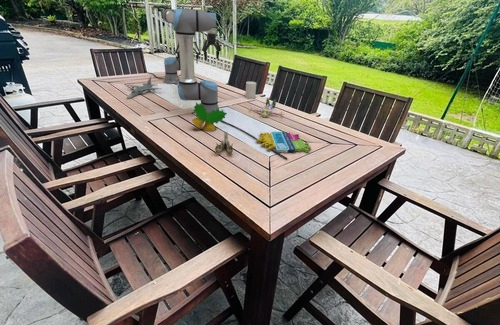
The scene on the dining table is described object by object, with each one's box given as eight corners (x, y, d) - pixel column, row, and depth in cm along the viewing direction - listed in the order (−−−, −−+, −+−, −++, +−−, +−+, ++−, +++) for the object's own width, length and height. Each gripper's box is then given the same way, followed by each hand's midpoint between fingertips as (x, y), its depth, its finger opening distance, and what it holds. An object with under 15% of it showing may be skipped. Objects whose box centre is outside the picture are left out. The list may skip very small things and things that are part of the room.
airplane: (121, 88, 233) (119, 76, 228) (157, 85, 246) (156, 75, 241) (125, 101, 205) (123, 88, 199) (166, 97, 218) (165, 85, 213)
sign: (313, 150, 142) (258, 149, 139) (312, 153, 143) (258, 152, 140) (301, 132, 164) (254, 130, 161) (301, 134, 165) (254, 133, 162)
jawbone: (234, 135, 144) (233, 125, 135) (233, 160, 138) (232, 151, 129) (217, 135, 144) (216, 125, 135) (216, 160, 138) (214, 150, 129)
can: (244, 96, 237) (245, 81, 231) (253, 95, 239) (254, 81, 233) (246, 98, 230) (247, 83, 223) (256, 98, 232) (257, 83, 226)
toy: (288, 100, 208) (284, 110, 182) (287, 109, 211) (283, 120, 186) (254, 96, 213) (245, 105, 187) (254, 104, 216) (245, 115, 190)
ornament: (218, 133, 171) (224, 110, 169) (221, 134, 163) (227, 111, 161) (186, 125, 162) (192, 101, 160) (189, 126, 155) (195, 101, 153)
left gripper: (202, 33, 215) (203, 60, 226) (225, 33, 232) (224, 59, 242) (197, 32, 220) (197, 59, 230) (219, 32, 236) (219, 57, 246)
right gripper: (203, 34, 208) (203, 62, 218) (170, 32, 202) (172, 61, 212) (203, 35, 202) (204, 64, 212) (170, 33, 196) (172, 63, 206)
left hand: (211, 59), depth 236 cm, fingers open, 13 cm apart
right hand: (188, 63), depth 212 cm, fingers open, 13 cm apart
